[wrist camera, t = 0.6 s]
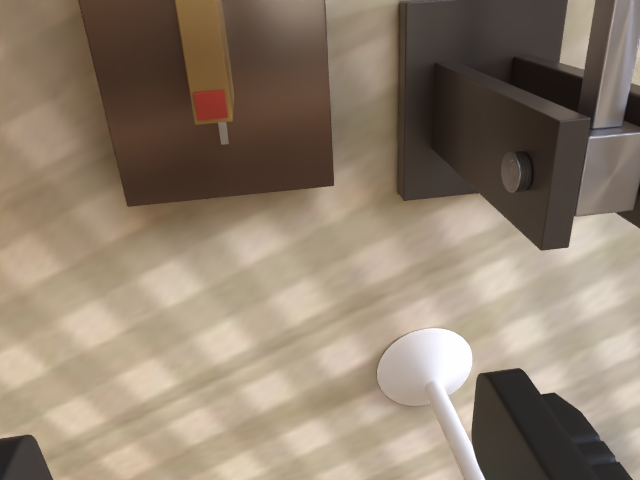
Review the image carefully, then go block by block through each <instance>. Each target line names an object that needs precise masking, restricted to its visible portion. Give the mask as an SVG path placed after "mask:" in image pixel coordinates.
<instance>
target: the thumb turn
mask: <svg viewBox="0 0 640 480" xmlns="http://www.w3.org/2000/svg"><path fill="white" fill-rule="evenodd" d="M175 6H176V12H177V18H178V24H179V30H180V36H181V42H182V49H183V55H184V61H185V67H186V73H187V79H188V85H189V91H190V97H191V103H192V109H193V115H194V122H195V124H196V125H198V124H209V123H220V122H231V121H233V109H234V90H233V82H232V74H231V66H230V58H229V51H228V43H227V35H226V27H225V19H224V11H223V4H222V0H175Z"/></svg>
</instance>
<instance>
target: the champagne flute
mask: <svg viewBox="0 0 640 480" xmlns="http://www.w3.org/2000/svg"><path fill="white" fill-rule="evenodd" d="M471 366H472V353H471V349H470V347H469V345H468V343H467V342H466V341H465V340H464V339H463V338H462V337H461V336H459V335H458V334H456V333H454V332H452V331H449V330H446V329H440V328H427V329H421V330H417V331H414V332H411V333H409V334H407V335H405V336H403V337H401V338H400V339H398V340H397V341H396V342H394V343H393V344H392V345H391V346H390V347H389V348H388V349H387V350H386V351H385V353H384V354H383V356H382V357H381V360H380V362H379V364H378V369H377V381H378V384H379V387H380V389H381V390H382V392H383V393H384V394H385V395H386V396H387V397H388V398H389V399H391V400H393V401H395V402H397V403H400V404H403V405H409V406H422V405H428V404H431V405H432V407H433V410H434V412H435V414H436V416H437V419H438V421H439V423H440V426H441V428H442V430H443V432H444V435H445V437H446V439H447V442H448V444H449V446H450V448H451V451H452V453H453V455H454V458H455V460H456V462H457V464H458V467H459V469H460V471H461V474H462V476H463V478H464V480H485V478H484V476H483V474H482V472H481V470H480V468H479V466H478V463H477V460H476V457H475V454H474V450H473V447H472V445H471V443H470V441H469V439H468V436H467V434H466V432H465V430H464V428H463V426H462V424H461V422H460V420H459V418H458V416H457V414H456V412H455V410H454V408H453V406H452V404H451V402H450V399H449V397H448V396H450V395H451V394H452V393H454V392H455V391H456V390H457V389H458V388H459V387H460V386H461V385H462V384H463V383H464V381H465V380H466V379H467V377H468V375H469V373H470V370H471Z"/></svg>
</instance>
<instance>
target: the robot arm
mask: <svg viewBox="0 0 640 480" xmlns="http://www.w3.org/2000/svg"><path fill="white" fill-rule="evenodd" d="M472 444H473V450H474V454H475V457H476V460H477V463H478V466H479V468H480V470H481V472H482V474H483V476H484V478H485V480H632V478H631V477H630V476H629V474H628V473H627V472H626V470H625V469H624V468H623V466H622V465H621V464H620V462H616V460H615V456H614V455H613V453H612V452H611V451H610V449H609V448H608V447H607V445H606V444H605V443H604V441H601V440H600V438H599V435H598V434H597V432H596V431H595V430H594V428H593V427H592V426H591V424H590V423H589V422H588V420H587V419H586V418H585V417H584V415H583V414H582V413H581V412H580V411H579V410H578V409H576V408H575V407H574V406H572V405H571V404H569V403H568V402H567V401H565V400H564V399H562V398H561V397H560V396H558V395H557V394H556V393H548V394H540V393H539V391H538V390H537V388H536V387H535V386H534V384H533V383H532V381H531V380H530V378H529V377H528V376H527V374H526V373H525V372H524V371H523V370H522V369H520V368H516V369H508V370H501V371H494V372H487V373H480V374H479V375H478V377H477V381H476V390H475V401H474V411H473V421H472ZM0 480H53V478H52V476H51V474H50V471H49V469H48V467H47V464H46V462H45V459H44V457H43V455H42V452H41V450H40V448H39V445H38V443H37V441H36V439H35V438H34V437H33V436H32V435H23V436H16V437H9V438H1V439H0Z"/></svg>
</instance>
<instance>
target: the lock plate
mask: <svg viewBox="0 0 640 480" xmlns="http://www.w3.org/2000/svg"><path fill="white" fill-rule="evenodd" d="M78 1H79V5H80V9H81V14H82V18H83V22H84V26H85V30H86V35H87V39H88V43H89V47H90V51H91V56H92V60H93V64H94V68H95V72H96V77H97V81H98V85H99V89H100V93H101V98H102V102H103V106H104V110H105V114H106V119H107V123H108V127H109V131H110V135H111V139H112V144H113V148H114V152H115V156H116V160H117V165H118V169H119V173H120V177H121V181H122V186H123V190H124V194H125V198H126V202H127V206H129V207H130V206H140V205H149V204H159V203H169V202H179V201H189V200H199V199H209V198H218V197H228V196H238V195H248V194H258V193H268V192H277V191H287V190H297V189H307V188H317V187H327V186H334V173H333V152H332V131H331V111H330V90H329V69H328V49H327V28H326V7H325V0H222V4H223V11H224V19H225V27H226V35H227V43H228V51H229V58H230V66H231V74H232V82H233V90H234V109H233V121H231V122H220V123H209V124H198V125H196V124H195V122H194V115H193V109H192V103H191V97H190V91H189V85H188V79H187V73H186V67H185V61H184V55H183V49H182V42H181V36H180V30H179V24H178V18H177V12H176V6H175V0H78Z"/></svg>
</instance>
